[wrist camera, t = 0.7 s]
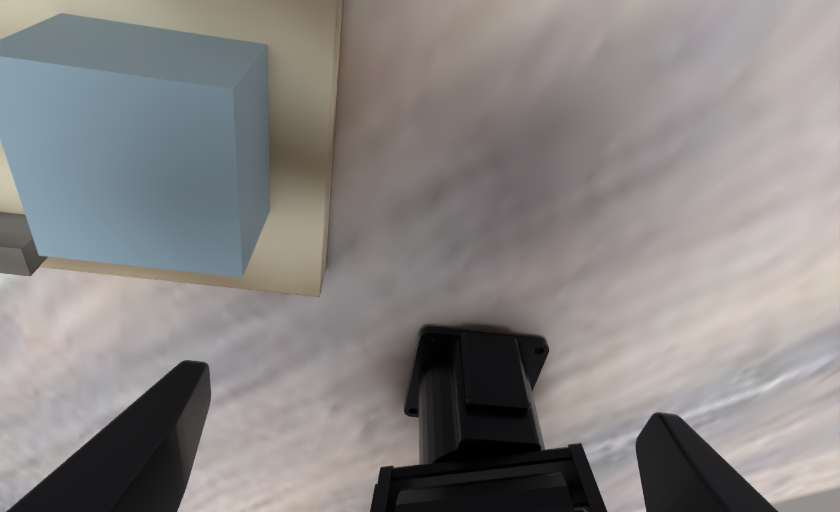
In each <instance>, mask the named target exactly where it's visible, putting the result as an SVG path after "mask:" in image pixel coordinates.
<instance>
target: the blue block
mask: <svg viewBox="0 0 840 512" xmlns="http://www.w3.org/2000/svg"><path fill="white" fill-rule="evenodd" d="M0 140H1V143H2V146H3V149H4V152H5V155H6V158H7V161H8V164H9V167H10V170H11V173H12V176H13V179H14V182H15V185H16V188H17V191H18V194H19V197H20V200H21V203H22V206H23V209H24V212H25V215H26V218H27V221H28V224H29V227H30V230H31V234H32V237H33V240H34V243H35V246H36V249H37V252H38V255H39V256H47V257H56V258H66V259H75V260H84V261H93V262H102V263H112V264H121V265H130V266H139V267H148V268H158V269H167V270H176V271H185V272H195V273H204V274H213V275H222V276H231V277H241V278H243V276H244V274H245V271H246V269H247V266H248V264H249V261H250V259H251V256H252V254H253V251H254V249H255V246H256V244H257V241H258V239H259V236H260V234H261V231H262V229H263V227H264V224H265V222H266V219H267V217H268V214H269V212H270V170H269V95H268V44H261V43H255V42H248V41H242V40H235V39H228V38H222V37H215V36H209V35H202V34H196V33H189V32H182V31H176V30H169V29H163V28H156V27H150V26H143V25H136V24H130V23H123V22H117V21H110V20H104V19H97V18H90V17H84V16H77V15H71V14H64V13H60V14H58V15H55V16H53V17H51V18H48V19H46V20H44V21H42V22H39V23H37V24H35V25H32V26H30V27H28V28H26V29H23V30H21V31H19V32H16V33H14V34H12V35H9V36H7V37H5V38H3V39H0Z"/></svg>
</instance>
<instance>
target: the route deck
mask: <svg viewBox="0 0 840 512" xmlns="http://www.w3.org/2000/svg"><path fill="white" fill-rule="evenodd" d="M342 3H343V0H0V39H3V38H5V37H7V36H9V35H12V34H14V33H16V32H19V31H21V30H23V29H26V28H28V27H30V26H32V25H35V24H37V23H39V22H42V21H44V20H46V19H48V18H51V17H53V16H55V15H58V14H60V13H64V14H71V15H77V16H84V17H90V18H97V19H104V20H110V21H117V22H123V23H130V24H136V25H143V26H150V27H156V28H163V29H169V30H176V31H182V32H189V33H196V34H202V35H209V36H215V37H222V38H228V39H235V40H242V41H248V42H255V43H261V44H268V95H269V170H270V212H269V214H268V217H267V219H266V222H265V224H264V227H263V229H262V231H261V234H260V236H259V239H258V241H257V244H256V246H255V249H254V251H253V254H252V256H251V259H250V261H249V264H248V266H247V269H246V271H245V274H244V276H243V278H241V277H231V276H222V275H213V274H204V273H195V272H185V271H176V270H167V269H158V268H148V267H139V266H130V265H121V264H112V263H102V262H93V261H84V260H75V259H66V258H56V257H47V256H39V255H38V252H37V249H36V246H35V243H34V240H33V237H32V234H31V230H30V227H29V224H28V221H27V218H26V215H25V212H24V209H23V206H22V203H21V200H20V197H19V194H18V191H17V188H16V185H15V182H14V179H13V176H12V173H11V170H10V167H9V164H8V161H7V158H6V155H5V152H4V149H3V146H2V143H1V140H0V273H5V274H14V275H24V276H31V275H32V274H33V273H34V272H35V271H36V270H37V269H38V268H39V267H43V268H52V269H62V270H71V271H81V272H90V273H99V274H109V275H118V276H127V277H137V278H146V279H156V280H165V281H174V282H184V283H193V284H202V285H212V286H221V287H231V288H240V289H249V290H259V291H268V292H278V293H287V294H296V295H306V296H315V297H320V293H321V288H322V283H323V279H324V274H325V269H326V256H327V240H328V224H329V209H330V193H331V177H332V161H333V145H334V129H335V114H336V98H337V82H338V66H339V50H340V35H341V19H342Z"/></svg>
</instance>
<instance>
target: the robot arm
mask: <svg viewBox="0 0 840 512" xmlns="http://www.w3.org/2000/svg"><path fill="white" fill-rule="evenodd" d="M428 336H431V337H432V338H427V337H428ZM539 347H541V348H539ZM536 348H539V349H536ZM548 353H549V347H548V343H547V341H546V340H545V339H542V338H534V337H525V336H515V335H505V334H496V333H486V332H476V331H467V330H457V329H447V328H437V327H426V328H423V329H422V330H421V331H420V333H419V337H418V342H417V347H416V351H415V356H414V361H413V365H412V370H411V375H410V380H409V384H408V389H407V394H406V398H405V403H404V413H405V414H406V415H408V416H411V417H419V463H420V465H413V466H404V467H396V468H394V467H393V466H386V467H381V468H380V473H379V478H378V484H376V485H375V488H374V494H373V499H372V504H371V510H370V512H607V510H606V507H605V504H604V502H603V499H602V496H601V494H600V491H599V489H598V486H597V483H596V481H595V478H594V475H593V473H592V470H591V468H590V465H589V462H588V460H587V457H586V455H585V452H584V449H583V447H582V444H581V443H578V444H570V445H568V447H563V448H555V449H547V450H545V447H544V443H543V439H542V434H541V430H540V425H539V421H538V416H537V412H536V408H535V403H534V399H533V394H532V391H533V388H534V386H535V384H536V381H537V379H538V376H539V374H540V372H541V369H542V367H543V365H544V362H545V360H546V358H547V355H548ZM210 400H211V385H210V371H209V366H208V364H207V363H205V362H199V361H190V360H185V361H182V362H180V363H179V364H178V365H177V366H176V367H174V368H173V369H172V370H171V371H170V372H169V373H167V374H166V375H165V376H164V377H163V378H162V379H160V380H159V381H158V382H157V383H156V384H155V385H153V386H152V387H151V388H150V389H149V390H148V391H146V392H145V393H144V394H143V395H142V396H141V397H139V398H138V399H137V400H136V401H135V402H134V403H132V404H131V405H130V406H129V407H128V408H127V409H125V410H124V411H123V412H122V413H121V414H120V415H118V416H117V417H116V418H115V419H114V420H113V421H111V422H110V423H109V424H108V425H107V426H106V427H104V428H103V429H102V430H101V431H100V432H99V433H97V434H96V435H95V436H94V437H93V438H92V439H90V440H89V441H88V442H87V443H86V444H85V445H83V446H82V447H81V448H80V449H79V450H78V451H76V452H75V453H74V454H73V455H72V456H71V457H69V458H68V459H67V460H66V461H65V462H64V463H62V464H61V465H60V466H59V467H58V468H57V469H55V470H54V471H53V472H52V473H51V474H50V475H48V476H47V477H46V478H45V479H44V480H43V481H41V482H40V483H39V484H38V485H37V486H36V487H34V488H33V489H32V490H31V491H30V492H29V493H27V494H26V495H25V496H24V497H23V498H22V499H20V500H19V501H18V502H17V503H16V504H15V505H13V506H12V507H11V508H10V509H9V510H8V511H6V512H177V511H178V508H179V506H180V503H181V500H182V498H183V495H184V493H185V490H186V487H187V483H188V480H189V477H190V473H191V470H192V466H193V463H194V459H195V456H196V452H197V448H198V445H199V441H200V438H201V434H202V431H203V427H204V424H205V420H206V417H207V413H208V409H209V406H210ZM636 455H637V460H638V466H639V472H640V477H641V483H642V489H643V494H644V500H645V506H646V512H778V511H777V510H776V509H775V508H774V507H773V506H772V505H771V504H770V503H769V502H768V501H767V500H766V499H765V498H764V497H763V496H762V495H761V494H759V493H758V492H757V491H756V490H755V489H754V488H753V487H752V486H751V485H750V484H749V483H748V482H747V481H746V480H745V479H744V478H743V477H742V476H741V475H740V474H739V473H738V472H737V471H736V470H735V469H734V468H733V467H731V466H730V465H729V464H728V463H727V462H726V461H725V460H724V459H723V458H722V457H721V456H720V455H719V454H718V453H717V452H716V451H715V450H714V449H713V448H712V447H711V446H710V445H709V444H708V443H707V442H706V441H705V440H703V439H702V438H701V437H700V436H699V435H698V434H697V433H696V432H695V431H694V430H693V429H692V428H691V427H690V426H689V425H688V424H687V423H686V422H685V421H684V420H683V419H682V418H680V417H679V416H678V415H675V414H669V413H660V412H657V413H655V414H653V415H652V416H651V417H650V419H649V420H648V422H647V424H646V425H645V427H644V428H643V430H642V431H641V433H640V434H639V436H638V438H637V441H636Z"/></svg>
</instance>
